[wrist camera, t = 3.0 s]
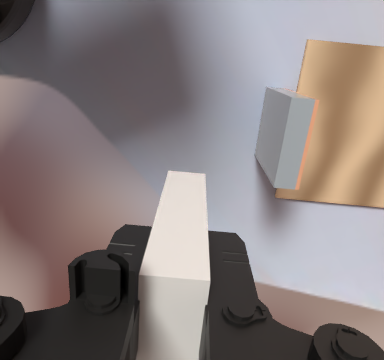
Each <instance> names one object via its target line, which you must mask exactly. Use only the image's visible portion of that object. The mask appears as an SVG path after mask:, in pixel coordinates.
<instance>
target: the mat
mask: <svg viewBox="0 0 384 360" xmlns="http://www.w3.org/2000/svg"><path fill="white" fill-rule="evenodd" d="M296 92H298V93H301V94H304V95H307V96H310V97H313V98H316V99H319V100H320V101H319V105H318V109H317V113H316V118H315V122H314V126H313V131H312V135H311V139H310V143H309V148H308V152H307V156H306V161H305V165H304V169H303V173H302V178H301V182H300V186H299V190H294V189H283V188H277V189H276V193H275V197H276V198H284V199H295V200H306V201H317V202H328V203H339V204H349V205H360V206H371V207H382V208H384V47H380V46H370V45H360V44H350V43H339V42H329V41H319V40H309V39H308V40H307V42H306V47H305V52H304V57H303V62H302V67H301V71H300V76H299V81H298V86H297V91H296Z"/></svg>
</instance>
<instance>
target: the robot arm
mask: <svg viewBox="0 0 384 360" xmlns="http://www.w3.org/2000/svg"><path fill="white" fill-rule="evenodd" d="M33 3H34V0H0V42H1V41H3V40H5V39H6V38H8V37H9V36H11V35H12V34H13V33H14V32H15V31H17V30H18V28H19V27H20V26H21V25H22V24H23V22H24V21H25V19H26V18H27V16H28V14H29V12H30V10H31V8H32V6H33ZM68 272H69V288H70V300H69V302H68V304H65V305H62V306H60V307H56V308H51V309H46V310H40V311H34V312H27V313H25V311H24V308H23V306H22V304H21V302H19V301H18V300H16V299H14V298H12V297H5V296H0V360H384V351H383V350H382V349H381V348H380V347H379V346H378V345H377V344H376V343H375V342H374V341H373V340H372V339H370V338H369V337H368V336H367V335H365V334H363V333H361V332H360V331H358V330H356V329H354V328H351V327H348V326H345V325H342V324H331V323H330V324H325V325H323V326H320V327H319V328H318V329H317V330H316V332H315V333H314V336H311V335H308V334H306V333H303V332H299V331H297V330H294V329H291V328H289V327H287V326H284V325H282V324H280V323H279V322H277V321H275V320H274V319H273V318H272V315H271V314H270V312H269V310H268V308H267V307H266V306H265V305H264V304H263V303H262V302H261V301H260V300H259V299H258V296H257V291H256V288H255V283H254V279H253V275H252V271H251V267H250V264H249V259H248V255H247V251H246V247H245V243H244V242H243V240H242V239H241V238H240V237H239V236H238V235H237V234H236V233H228V232H217V231H208V221H207V201H206V180H205V174H201V173H190V172H179V171H168V174H167V177H166V181H165V184H164V188H163V191H162V195H161V198H160V202H159V205H158V209H157V212H156V216H155V220H154V223H153V226H152V227H149V226H137V225H127V224H125V225H124V226H123V227H121V228H120V229H119V230H117V231H116V232H115V233H114V235H113V237H112V239H111V241H110V244H109V245H108V247H107V249H106V250H96V251H92V252H87V253H85V254H83V255H81V256H79V257H77V258H75V259H74V260H73V261H72V262H71V263H70V264H69V265H68Z"/></svg>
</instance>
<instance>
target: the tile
mask: <svg viewBox="0 0 384 360" xmlns="http://www.w3.org/2000/svg"><path fill="white" fill-rule="evenodd" d="M319 101H320V100H319V99H316V98H313V97H310V96H307V95H304V94H301V93H298V92H295V91H292V90H289V89H284V88H273V87H266V92H265V97H264V103H263V109H262V115H261V121H260V127H259V133H258V139H257V144H256V150H255V156H256V158H257V160H258V162H259V163H260V165H261V167H262V168H263V170H264V172H265V174H266V175H267V177H268V179H269V180H270V182H271V184H272V186H273V187H274V188H283V189H294V190H299V186H300V182H301V178H302V173H303V169H304V165H305V161H306V156H307V152H308V148H309V143H310V139H311V135H312V131H313V126H314V122H315V118H316V113H317V109H318V105H319Z"/></svg>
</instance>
